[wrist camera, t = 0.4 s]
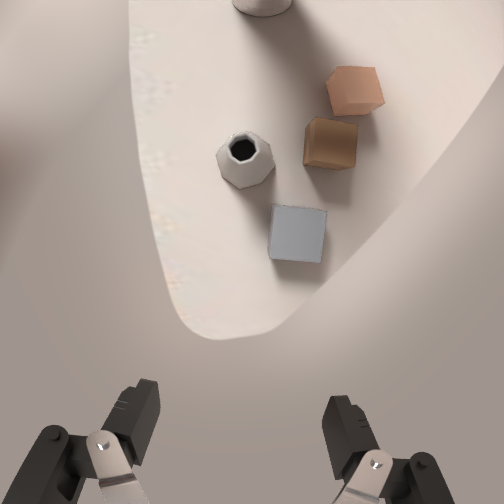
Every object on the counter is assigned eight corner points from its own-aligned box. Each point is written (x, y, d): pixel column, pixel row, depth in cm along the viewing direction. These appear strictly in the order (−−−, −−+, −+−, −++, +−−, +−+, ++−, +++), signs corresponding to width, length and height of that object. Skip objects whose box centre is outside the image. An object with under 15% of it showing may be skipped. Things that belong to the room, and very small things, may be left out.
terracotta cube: (325, 83, 32) (337, 66, 26) (358, 82, 32) (374, 67, 26) (333, 115, 33) (347, 103, 27) (366, 114, 33) (384, 103, 27)
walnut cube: (305, 128, 33) (315, 117, 28) (341, 134, 33) (357, 125, 28) (302, 164, 34) (312, 159, 29) (339, 170, 35) (355, 166, 29)
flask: (284, 167, 35) (297, 159, 25) (237, 199, 35) (232, 201, 26) (253, 122, 33) (253, 98, 23) (206, 153, 34) (189, 140, 24)
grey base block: (271, 203, 36) (274, 205, 31) (317, 208, 36) (327, 211, 31) (267, 249, 37) (269, 258, 32) (311, 253, 37) (320, 262, 32)
